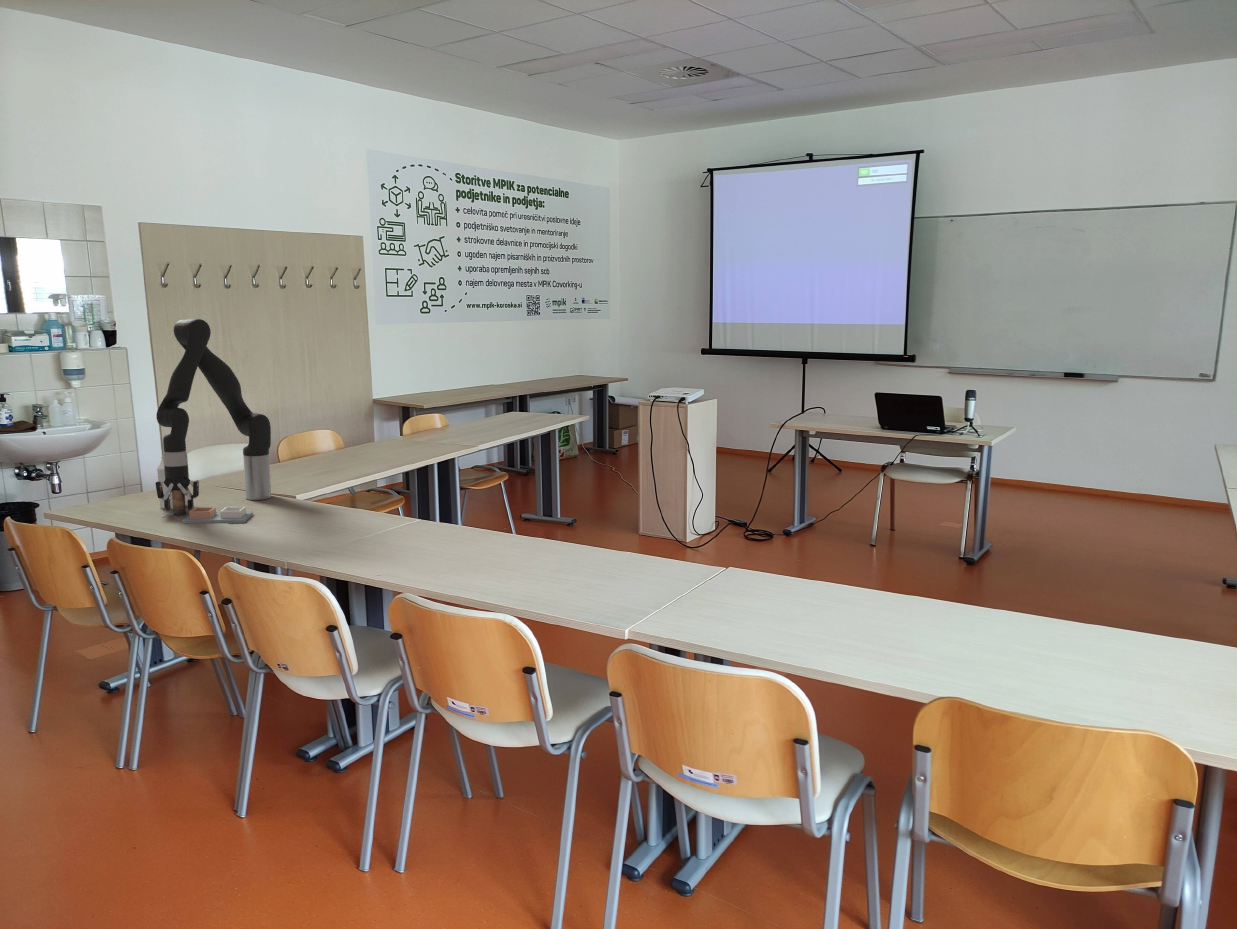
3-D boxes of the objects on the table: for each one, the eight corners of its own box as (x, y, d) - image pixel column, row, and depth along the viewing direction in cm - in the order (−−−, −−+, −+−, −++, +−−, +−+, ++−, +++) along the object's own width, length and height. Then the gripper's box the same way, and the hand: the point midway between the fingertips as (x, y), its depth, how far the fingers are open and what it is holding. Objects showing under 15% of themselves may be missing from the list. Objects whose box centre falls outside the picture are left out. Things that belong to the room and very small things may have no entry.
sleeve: (175, 513, 304) (174, 488, 303) (187, 513, 305) (186, 488, 303) (171, 515, 300) (170, 490, 299) (183, 515, 301) (182, 490, 299)
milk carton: (179, 509, 311) (175, 458, 307) (160, 509, 311) (156, 458, 307) (189, 505, 318) (185, 455, 314) (170, 504, 318) (166, 454, 314)
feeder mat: (171, 512, 306) (170, 511, 306) (197, 512, 308) (197, 511, 308) (161, 518, 298) (161, 517, 297) (189, 518, 299) (189, 517, 299)
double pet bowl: (193, 515, 302) (193, 505, 302) (253, 514, 305) (252, 504, 305) (182, 524, 291) (181, 513, 290) (243, 522, 294) (243, 512, 293)
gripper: (201, 461, 304) (204, 507, 307) (158, 461, 302) (161, 507, 305) (194, 465, 297) (197, 511, 300) (150, 465, 294) (153, 512, 297)
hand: (179, 509), depth 302 cm, fingers open, 6 cm apart
